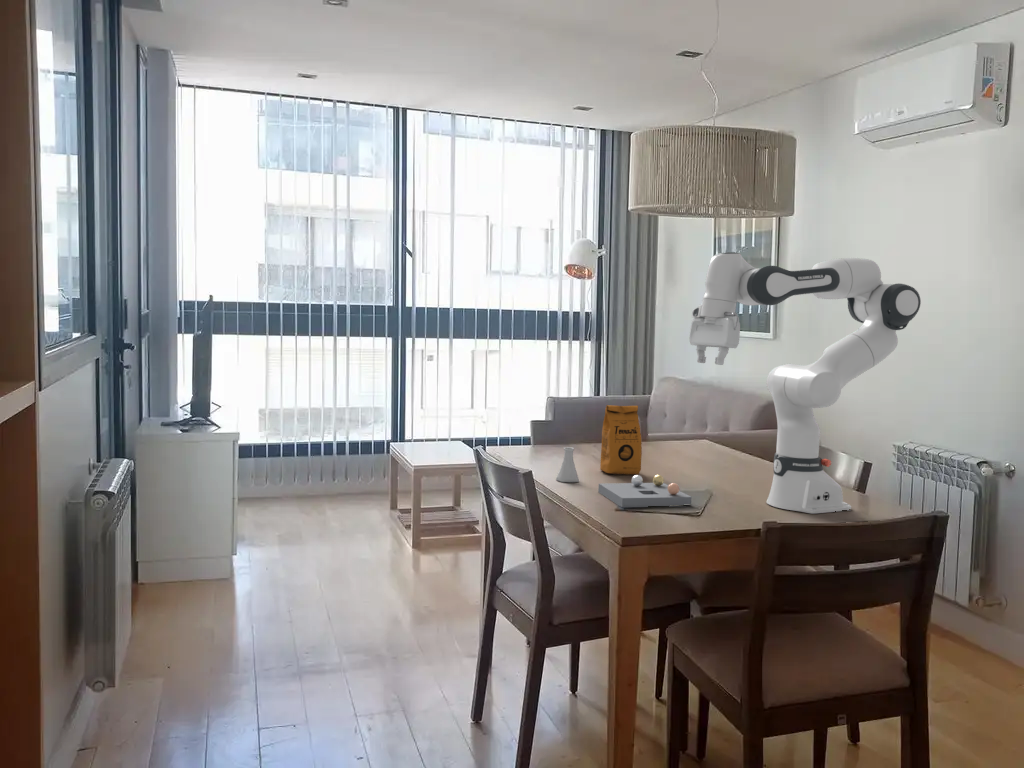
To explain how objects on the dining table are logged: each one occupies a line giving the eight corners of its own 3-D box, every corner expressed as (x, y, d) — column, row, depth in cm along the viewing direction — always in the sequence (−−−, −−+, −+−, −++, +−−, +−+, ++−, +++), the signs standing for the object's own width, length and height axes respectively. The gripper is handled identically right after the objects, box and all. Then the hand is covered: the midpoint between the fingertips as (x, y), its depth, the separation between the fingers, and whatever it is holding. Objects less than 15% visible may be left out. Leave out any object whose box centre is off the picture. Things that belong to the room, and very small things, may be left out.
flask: (559, 483, 247) (561, 450, 246) (552, 478, 254) (553, 446, 253) (582, 483, 249) (584, 450, 248) (574, 478, 256) (576, 445, 255)
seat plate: (662, 491, 242) (663, 482, 241) (690, 506, 224) (691, 496, 224) (598, 492, 237) (598, 483, 236) (621, 507, 219) (622, 498, 219)
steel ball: (639, 484, 237) (640, 473, 237) (644, 487, 234) (644, 476, 234) (629, 485, 236) (630, 473, 236) (633, 487, 233) (634, 476, 233)
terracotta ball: (675, 493, 228) (676, 481, 228) (681, 495, 225) (681, 484, 225) (665, 493, 227) (665, 481, 227) (670, 496, 224) (670, 484, 224)
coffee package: (643, 476, 262) (647, 407, 260) (604, 476, 260) (608, 406, 258) (634, 470, 272) (638, 403, 270) (597, 469, 270) (601, 402, 268)
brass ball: (660, 484, 239) (661, 473, 238) (665, 487, 236) (666, 475, 235) (650, 484, 238) (651, 473, 238) (655, 487, 235) (655, 476, 234)
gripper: (749, 313, 212) (741, 367, 212) (709, 314, 231) (701, 363, 232) (727, 310, 210) (719, 364, 210) (689, 310, 229) (681, 360, 230)
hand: (709, 363), depth 221 cm, fingers open, 8 cm apart
